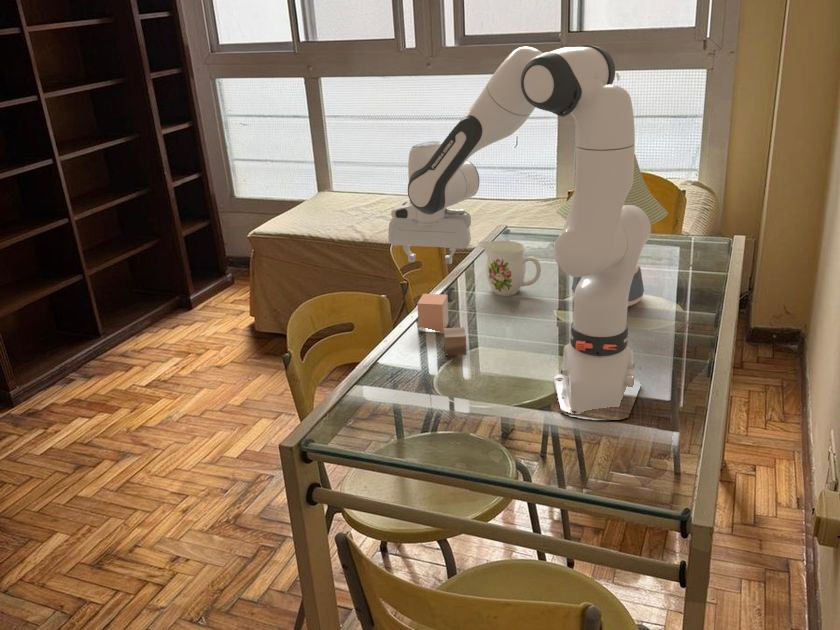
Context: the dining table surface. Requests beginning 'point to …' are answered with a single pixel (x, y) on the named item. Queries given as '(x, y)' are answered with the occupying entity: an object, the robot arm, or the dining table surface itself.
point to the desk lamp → (653, 210)
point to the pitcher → (507, 266)
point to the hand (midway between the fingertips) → (430, 262)
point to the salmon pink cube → (433, 311)
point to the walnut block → (455, 341)
